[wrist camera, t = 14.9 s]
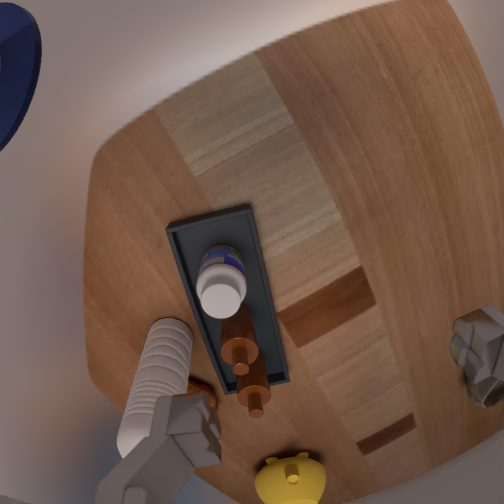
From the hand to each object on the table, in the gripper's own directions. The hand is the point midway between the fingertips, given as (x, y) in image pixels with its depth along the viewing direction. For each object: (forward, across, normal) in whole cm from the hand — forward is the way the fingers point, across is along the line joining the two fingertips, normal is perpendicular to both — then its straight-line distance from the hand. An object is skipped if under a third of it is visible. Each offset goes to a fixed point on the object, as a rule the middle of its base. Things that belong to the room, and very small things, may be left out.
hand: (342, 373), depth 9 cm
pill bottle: (+31, +6, +8) cm, 32 cm away
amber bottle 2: (+30, +6, +24) cm, 39 cm away
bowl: (+31, -43, +46) cm, 70 cm away
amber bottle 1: (+30, +6, +16) cm, 35 cm away
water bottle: (+31, +17, +18) cm, 40 cm away
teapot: (+31, +5, +57) cm, 65 cm away
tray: (+31, +6, +15) cm, 35 cm away
